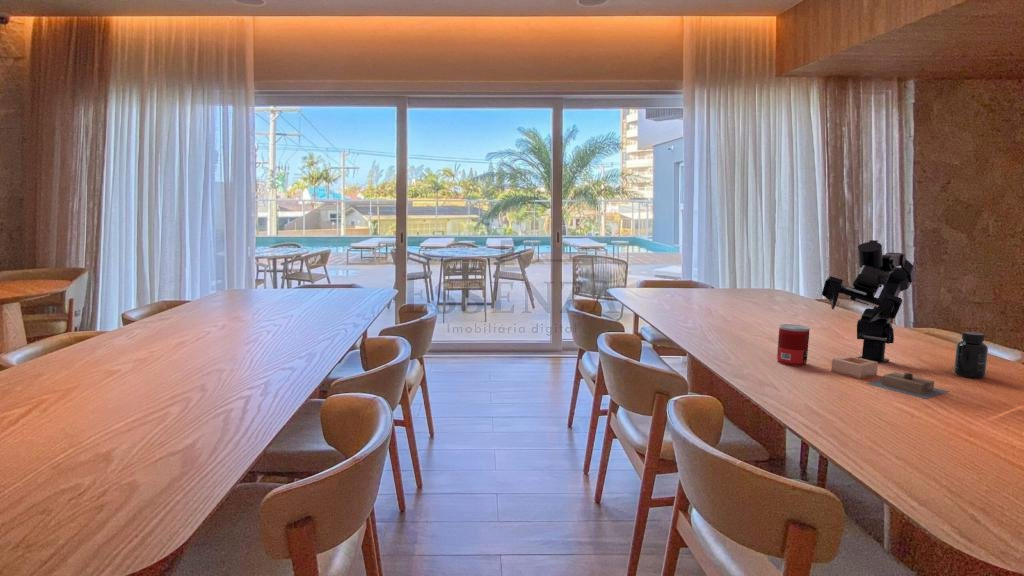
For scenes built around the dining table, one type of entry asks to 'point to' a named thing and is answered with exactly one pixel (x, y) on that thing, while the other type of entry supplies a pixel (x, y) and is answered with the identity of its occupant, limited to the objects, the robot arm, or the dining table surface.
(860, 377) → the tan box
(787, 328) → the canned food
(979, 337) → the supplement bottle
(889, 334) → the robot arm
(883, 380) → the lid
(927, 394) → the mat
